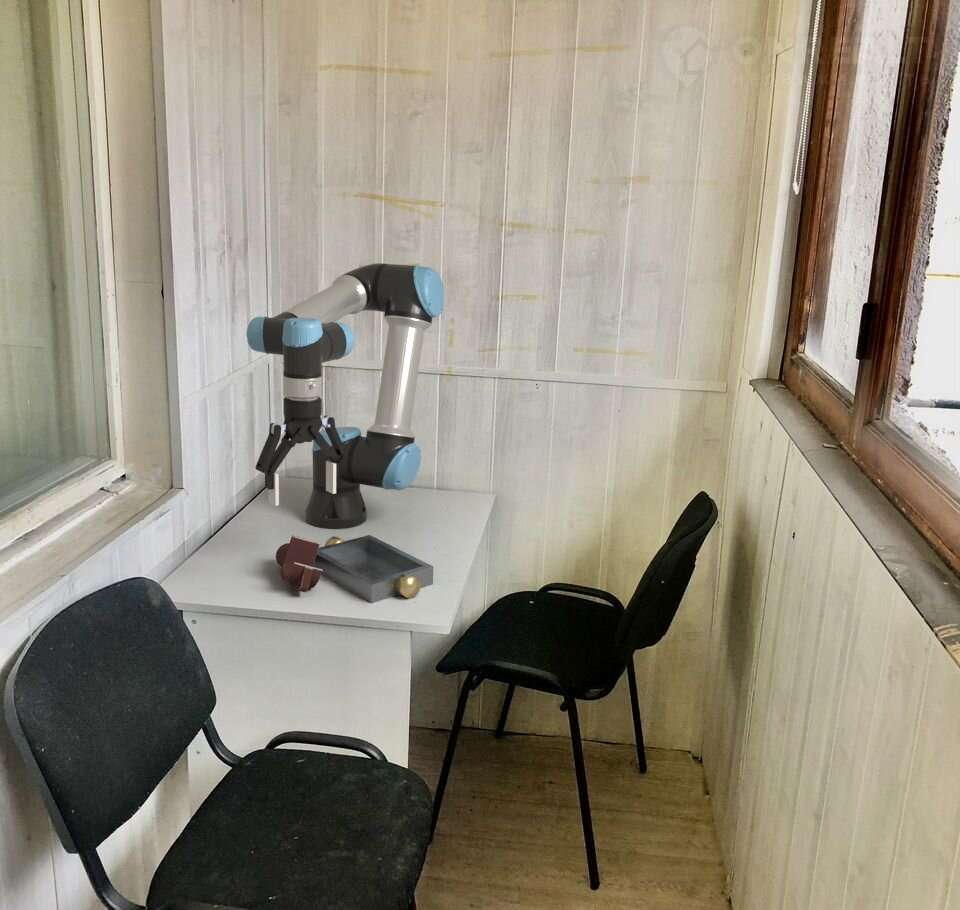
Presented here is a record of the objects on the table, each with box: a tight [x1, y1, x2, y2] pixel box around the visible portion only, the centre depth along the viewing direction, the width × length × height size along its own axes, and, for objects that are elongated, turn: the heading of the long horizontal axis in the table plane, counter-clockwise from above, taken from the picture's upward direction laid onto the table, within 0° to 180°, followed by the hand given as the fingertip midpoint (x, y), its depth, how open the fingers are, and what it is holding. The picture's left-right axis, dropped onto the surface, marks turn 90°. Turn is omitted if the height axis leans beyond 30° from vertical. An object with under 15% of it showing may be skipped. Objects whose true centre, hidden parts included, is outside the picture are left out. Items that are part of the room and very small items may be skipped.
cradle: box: [313, 534, 434, 604], centre depth 198 cm, size 29×16×4 cm, turn 42°
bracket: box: [275, 534, 323, 593], centre depth 193 cm, size 6×17×10 cm, turn 27°
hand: (303, 497), depth 189 cm, fingers open, 13 cm apart
